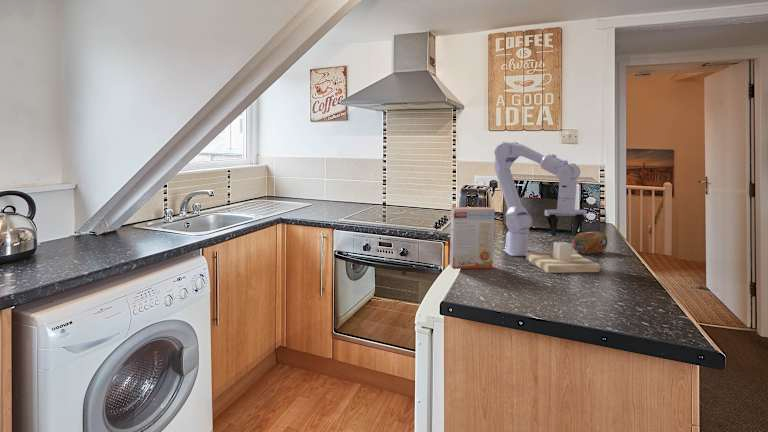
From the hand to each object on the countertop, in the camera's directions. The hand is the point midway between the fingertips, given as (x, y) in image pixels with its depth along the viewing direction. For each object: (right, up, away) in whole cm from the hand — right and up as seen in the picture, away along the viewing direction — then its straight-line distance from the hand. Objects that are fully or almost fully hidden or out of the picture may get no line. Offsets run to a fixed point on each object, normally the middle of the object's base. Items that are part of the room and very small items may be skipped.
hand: (563, 235), depth 152 cm
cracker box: (-35, -11, -5) cm, 37 cm away
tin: (+18, -8, +18) cm, 26 cm away
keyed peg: (-2, -11, -2) cm, 11 cm away
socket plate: (-2, -11, -2) cm, 11 cm away
